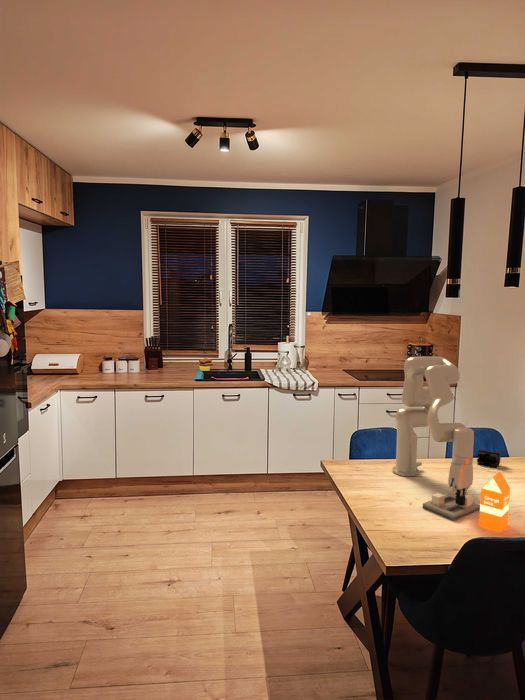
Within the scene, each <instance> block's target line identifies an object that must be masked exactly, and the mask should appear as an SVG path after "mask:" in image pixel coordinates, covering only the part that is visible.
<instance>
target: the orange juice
mask: <svg viewBox="0 0 525 700" xmlns="http://www.w3.org/2000/svg"><path fill="white" fill-rule="evenodd" d="M510 492H511V487H510V485H509V483H508V482H507V481H506V478H505V477H504V475H503V474H502V472H501V471H499V472H497V473H495V474H494V476H491V478H490V479H489V480H488V481H487V482H486V483H485V484H484V485H483V486H482V487H481V488H480V504H479V505H480V510H479V520H478V521H479V523H478V526H479V527H481V528H483V529H486V530H487V529H488V530H490V531H493V532H497V533H502V532H503V530H505V528H506V527H508V525H509V511H510V496H511V495H510V494H511V493H510Z"/></svg>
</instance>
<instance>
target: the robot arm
mask: <svg viewBox="0 0 525 700" xmlns="http://www.w3.org/2000/svg"><path fill="white" fill-rule="evenodd" d="M403 372H404V373H403V374H404V381H403V387H402V395H401V402H402V404H403V406H405V407H402V408H400V409H398V410H397V411H396V412H395V423H396V452H395V453H396V454H395V466H393V467H392V468H391V469H392V473H394V474H396V475H398V476H402V477H416V476H418V475H420V470H419V468H418V467H420V466H422V464H423V463H422V462H421V461H417V459H418V435H417V433H416V431H415V430H414V429H416V428H427V427H428V429H429V433H430V436H431V437H432V439H433V440H434V441H435V442H437V443H451V442H452V453H451V464H450V466H449V470H448V471H449V472H448V479H447V480H448V482H447V485H448V487H450V488H451V490H450V491H451V492H452V493H454V495H455V496H456V501H455V503H456V504H458V505H461V506H463V505H465V495H466V494H468V493H467V491H468V489H469V488H471V486H472V485H473V483H474V482H473V481H474V467H473V461H474V441H475V433H474V430H473V429H471V428H469V427H467V426H466V425H465V424H463V423H462V422H444V423H443V422H442V423H441V422H440V419H439V415H438V413H439V409H440V408H442V407H444V406H446V405H448V404H450V403H452V401H453V400H454V396H453V393H452V389H451V386H450V385H456V384H458V383H459V381H460V379H461V376H460V375H461V374H460V371H459V369H458V368H457V366H456V365H455V364H454V363H452V362H450V360H448V359H446V358H445V357H444V356H433V355H432V356H424V355H423V356H409V357H408V358H406V359H405V361H404V365H403ZM424 377H425V381H426V384H427V386H426V385H425V386H424Z"/></svg>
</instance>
